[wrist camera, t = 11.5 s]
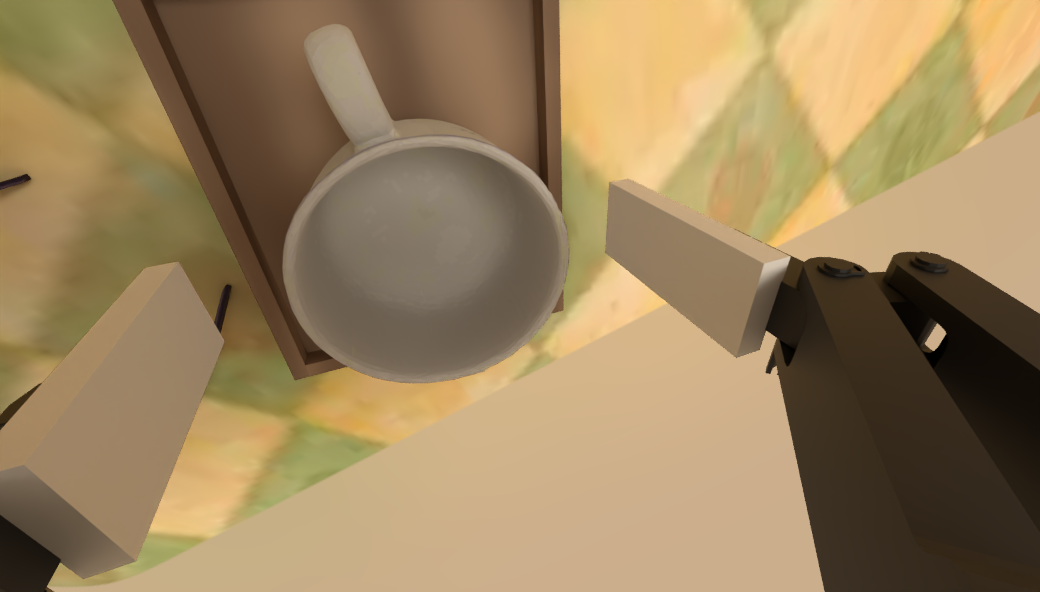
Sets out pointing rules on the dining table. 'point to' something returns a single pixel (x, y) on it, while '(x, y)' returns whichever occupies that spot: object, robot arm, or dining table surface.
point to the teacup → (417, 238)
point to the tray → (310, 121)
